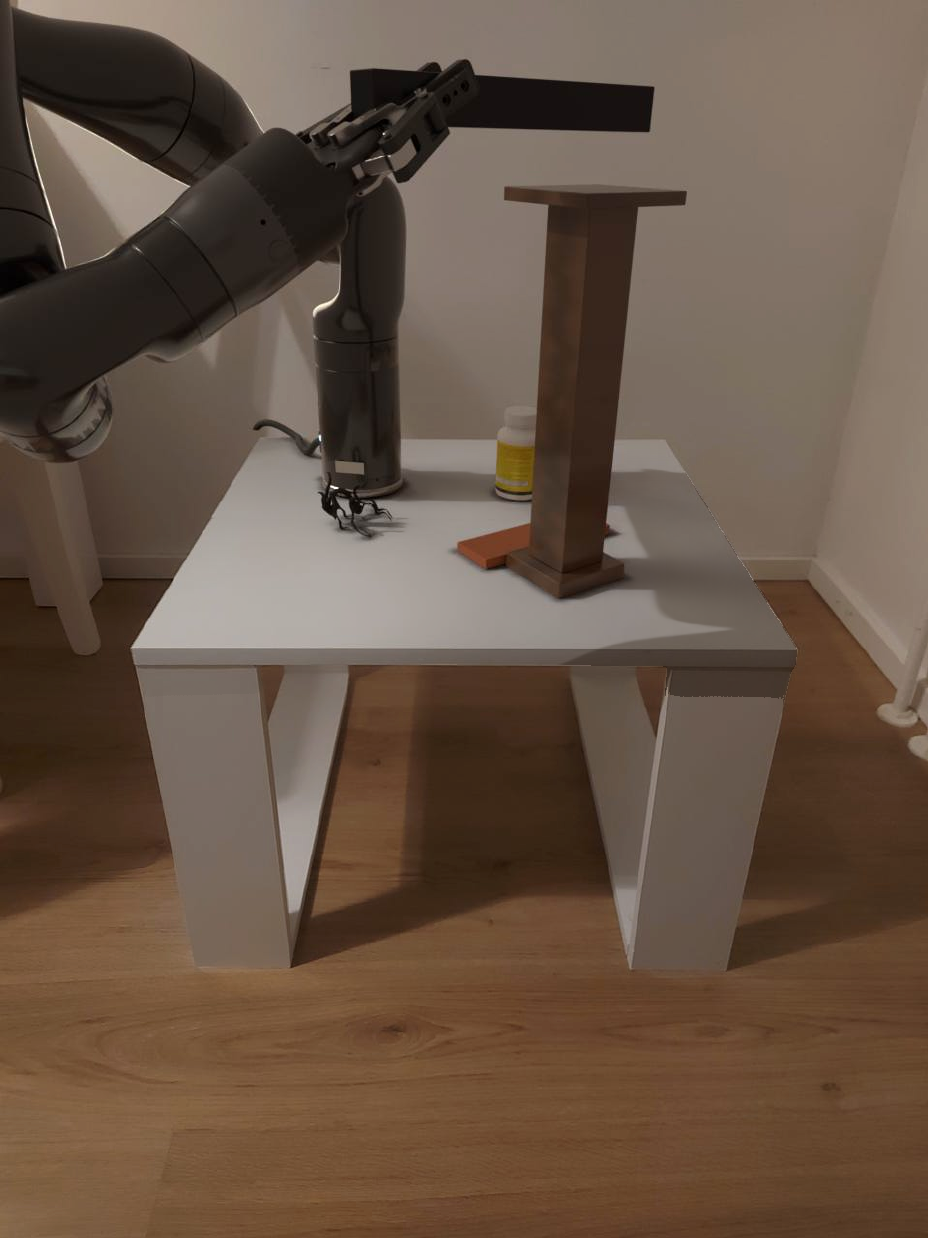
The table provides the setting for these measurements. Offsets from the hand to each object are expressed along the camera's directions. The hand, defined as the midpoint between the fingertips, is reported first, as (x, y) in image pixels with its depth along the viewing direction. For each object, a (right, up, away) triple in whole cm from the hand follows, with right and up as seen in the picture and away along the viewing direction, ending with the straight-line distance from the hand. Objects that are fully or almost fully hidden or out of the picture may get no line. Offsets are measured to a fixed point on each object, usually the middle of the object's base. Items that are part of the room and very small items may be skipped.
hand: (454, 75), depth 57 cm
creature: (-11, -26, +36) cm, 45 cm away
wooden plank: (+8, -28, +32) cm, 43 cm away
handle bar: (+3, +1, +4) cm, 5 cm away
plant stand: (+10, -31, +26) cm, 42 cm away
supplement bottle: (+7, -21, +44) cm, 50 cm away
